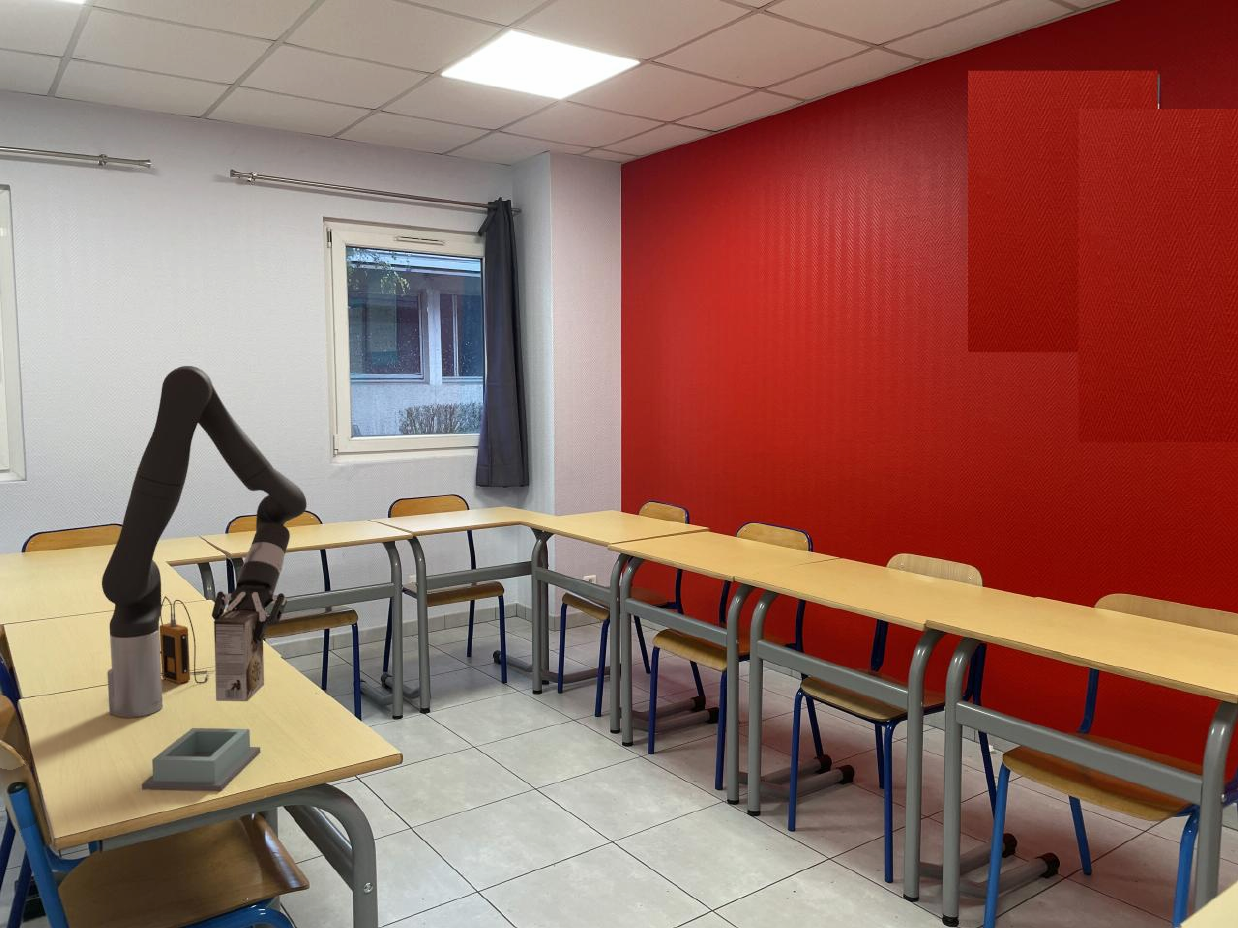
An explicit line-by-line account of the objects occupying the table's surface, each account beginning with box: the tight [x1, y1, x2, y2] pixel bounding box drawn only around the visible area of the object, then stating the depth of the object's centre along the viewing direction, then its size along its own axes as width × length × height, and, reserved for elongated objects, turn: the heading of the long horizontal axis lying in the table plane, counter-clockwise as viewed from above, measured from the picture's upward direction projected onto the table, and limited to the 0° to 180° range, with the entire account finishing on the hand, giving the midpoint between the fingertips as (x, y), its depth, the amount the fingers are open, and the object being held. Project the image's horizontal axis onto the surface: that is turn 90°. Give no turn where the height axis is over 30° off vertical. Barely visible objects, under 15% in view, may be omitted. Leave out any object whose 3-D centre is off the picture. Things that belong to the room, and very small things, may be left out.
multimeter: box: [159, 596, 213, 685], centre depth 214 cm, size 15×10×20 cm
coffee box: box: [213, 608, 265, 702], centre depth 179 cm, size 9×6×16 cm
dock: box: [141, 727, 261, 792], centre depth 165 cm, size 14×16×5 cm
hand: (237, 640), depth 178 cm, fingers closed on coffee box, 6 cm apart
